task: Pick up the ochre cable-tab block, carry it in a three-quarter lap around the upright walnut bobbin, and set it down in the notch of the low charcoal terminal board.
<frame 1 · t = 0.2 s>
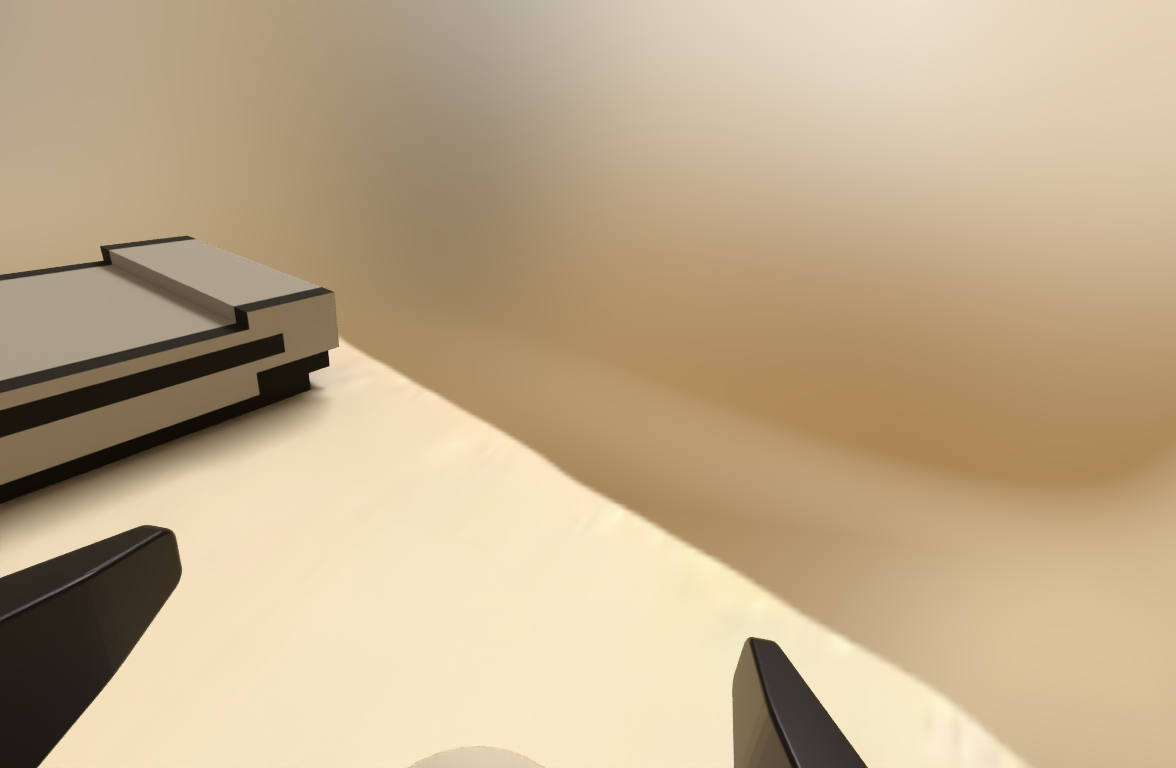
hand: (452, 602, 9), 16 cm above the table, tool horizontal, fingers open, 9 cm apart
game console: (47, 417, 42), on the table
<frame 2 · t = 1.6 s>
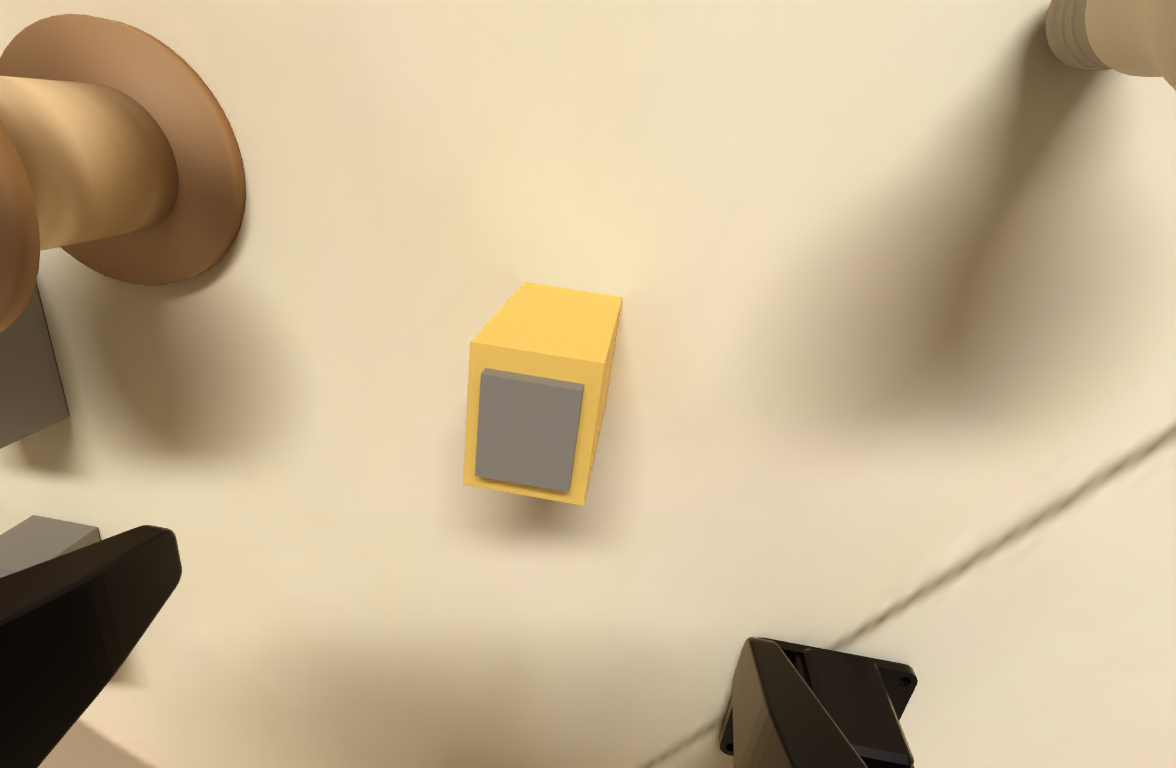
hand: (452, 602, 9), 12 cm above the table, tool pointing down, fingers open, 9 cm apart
lightbulb: (1077, 18, 15), on the table
notch board: (50, 467, 25), on the table
tab block: (566, 347, 20), on the table
bobbin: (127, 160, 19), on the table
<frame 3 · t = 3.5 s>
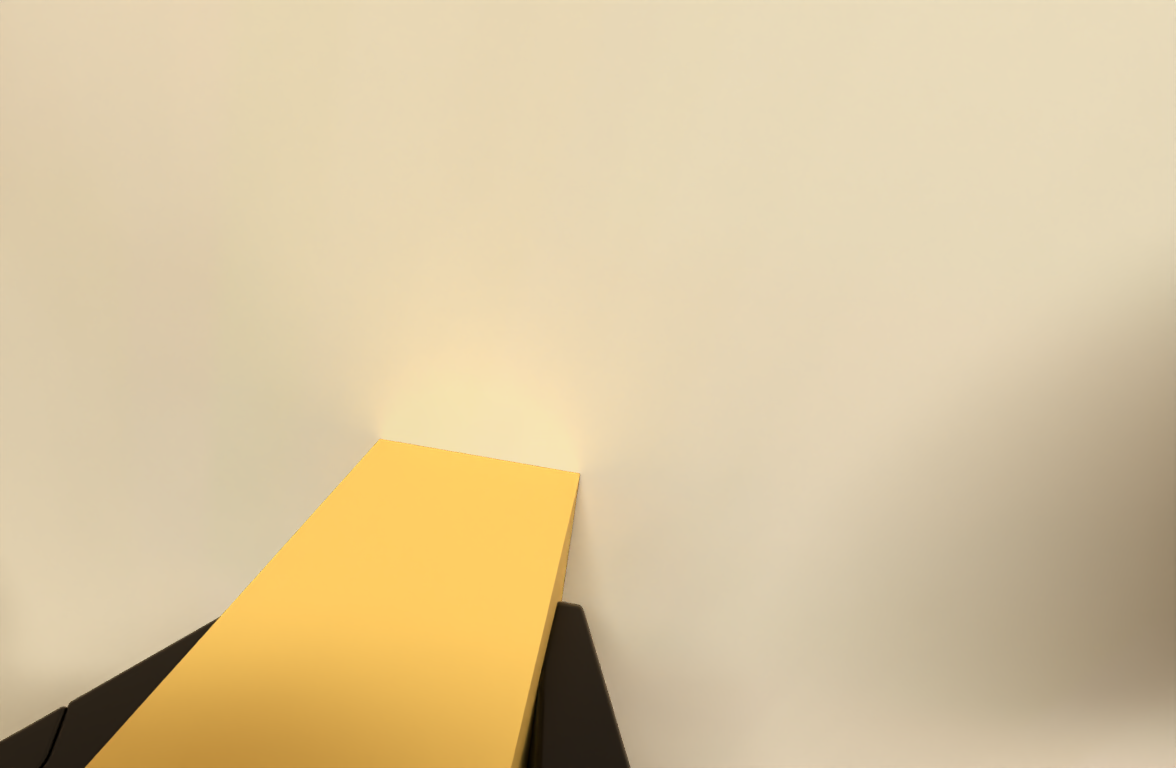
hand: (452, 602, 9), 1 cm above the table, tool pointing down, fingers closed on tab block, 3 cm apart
tab block: (472, 556, 10), on the table, touching gripper
when the fingers open (3 cm above the table, at t = 8.9 s): tab block drops 3 cm, on the table.
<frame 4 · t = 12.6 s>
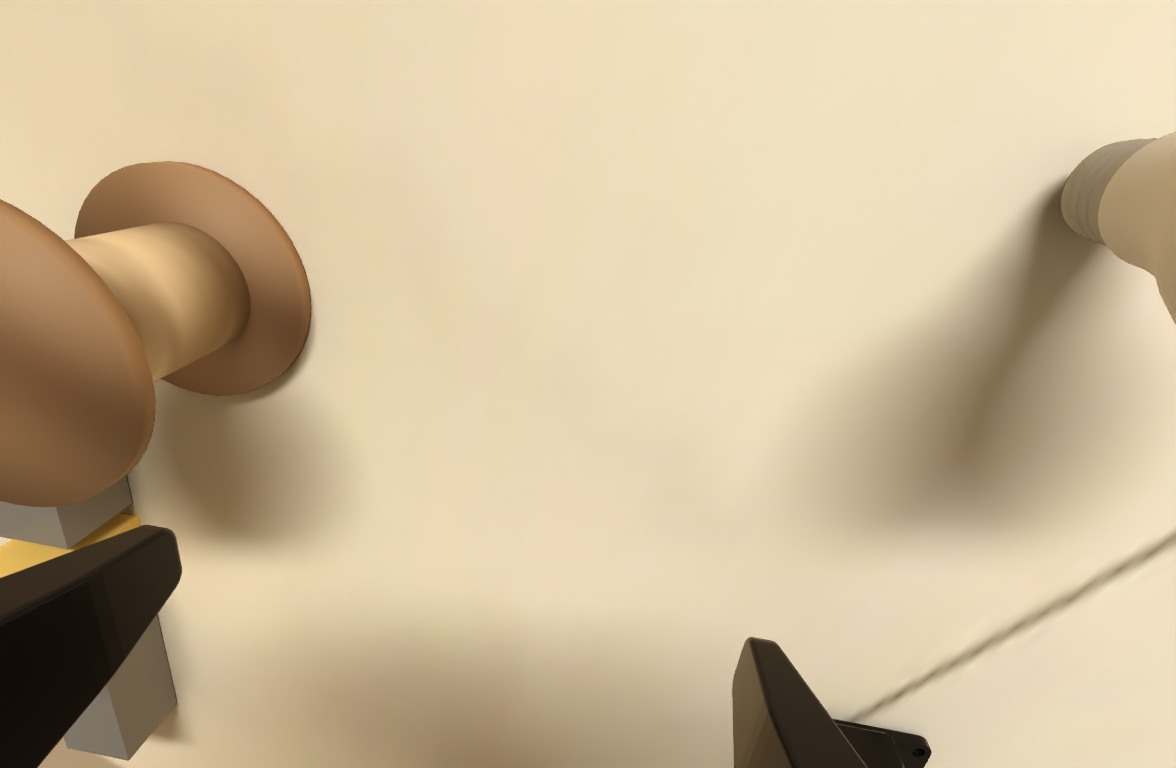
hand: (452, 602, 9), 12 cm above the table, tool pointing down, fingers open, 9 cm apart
lightbulb: (1088, 187, 17), on the table
notch board: (111, 548, 26), on the table
tab block: (112, 547, 26), on the table
bobbin: (200, 283, 21), on the table
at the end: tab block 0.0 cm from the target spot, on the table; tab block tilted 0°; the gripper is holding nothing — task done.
